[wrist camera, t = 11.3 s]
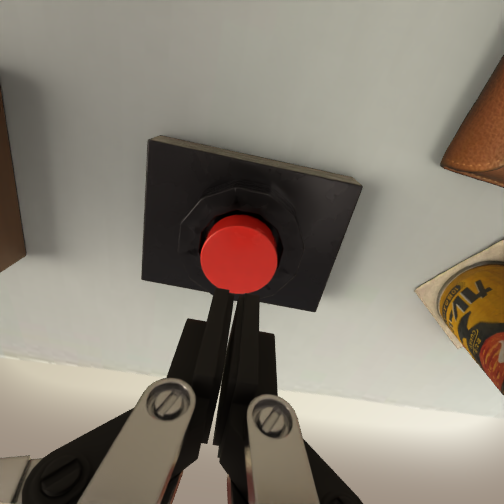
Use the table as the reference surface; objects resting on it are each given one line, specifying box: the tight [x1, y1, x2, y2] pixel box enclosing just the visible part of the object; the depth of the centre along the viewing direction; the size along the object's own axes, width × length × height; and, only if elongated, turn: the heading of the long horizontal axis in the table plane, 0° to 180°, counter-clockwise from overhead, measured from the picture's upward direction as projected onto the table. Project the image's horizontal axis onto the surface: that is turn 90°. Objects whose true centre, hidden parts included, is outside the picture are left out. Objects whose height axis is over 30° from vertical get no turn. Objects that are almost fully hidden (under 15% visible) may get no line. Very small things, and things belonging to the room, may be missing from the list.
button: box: [200, 215, 278, 294], centre depth 16 cm, size 4×4×2 cm
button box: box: [141, 135, 363, 312], centre depth 19 cm, size 12×9×4 cm
